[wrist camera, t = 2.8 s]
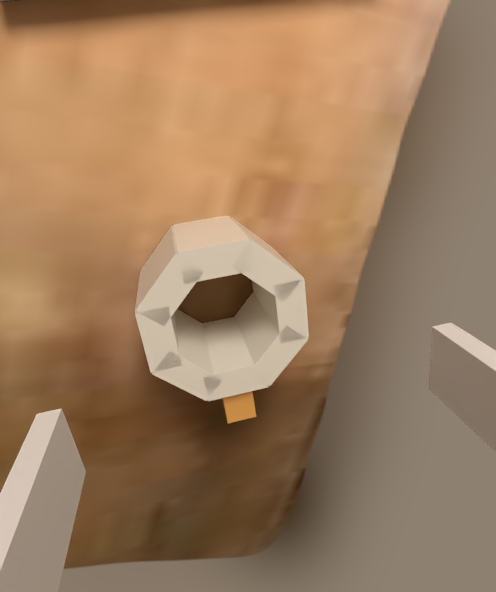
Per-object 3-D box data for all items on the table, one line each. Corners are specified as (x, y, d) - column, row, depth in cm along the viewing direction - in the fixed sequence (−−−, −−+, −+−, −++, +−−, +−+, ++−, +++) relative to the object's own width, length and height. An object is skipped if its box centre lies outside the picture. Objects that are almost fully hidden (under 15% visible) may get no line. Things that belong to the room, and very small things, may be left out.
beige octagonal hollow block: (167, 380, 26) (169, 444, 21) (130, 231, 22) (121, 262, 17) (283, 354, 27) (314, 408, 22) (267, 208, 24) (300, 229, 18)
